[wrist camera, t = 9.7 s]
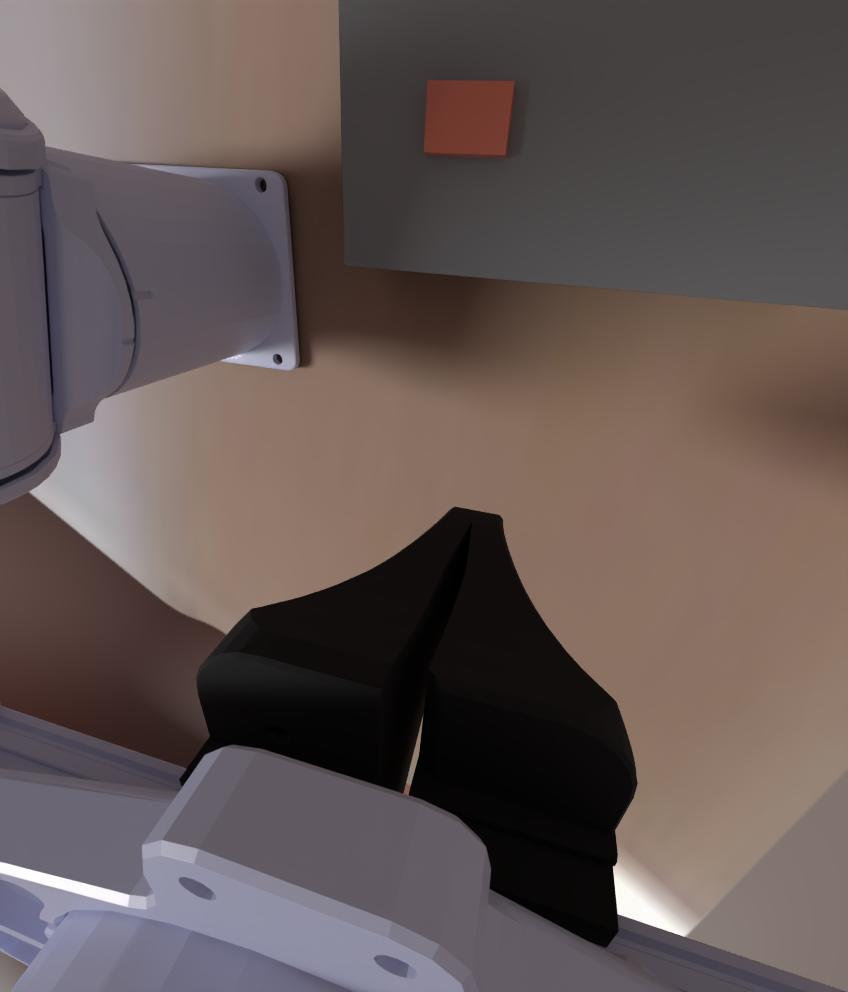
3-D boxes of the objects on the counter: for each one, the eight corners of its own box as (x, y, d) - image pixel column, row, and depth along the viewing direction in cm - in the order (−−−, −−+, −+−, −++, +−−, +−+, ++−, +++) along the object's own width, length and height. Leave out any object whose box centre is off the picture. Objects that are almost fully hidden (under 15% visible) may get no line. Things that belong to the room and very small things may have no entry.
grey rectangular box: (380, 263, 19) (338, 266, 15) (385, -5, 15) (328, -94, 11) (828, 301, 16) (916, 316, 12) (981, -21, 12) (1185, -149, 8)
